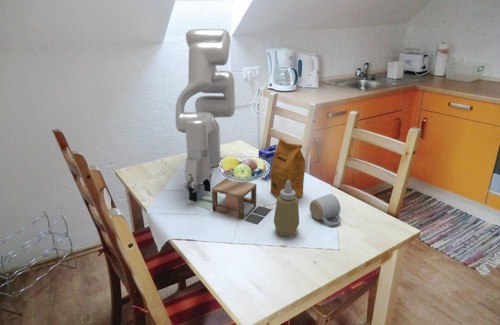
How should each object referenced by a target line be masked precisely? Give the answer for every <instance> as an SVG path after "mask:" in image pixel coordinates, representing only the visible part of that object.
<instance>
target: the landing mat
mask: <svg viewBox="0 0 500 325" xmlns="http://www.w3.org/2000/svg"><path fill="white" fill-rule="evenodd" d="M205 197H208V198H212V193H210V192H205ZM223 198H225V197H224V196H219V195H217V200H219V201H221V200H222V199H223ZM188 203H189V205H192V206H196V207H199V208H202V209H206V210H211V209H213V206H212V202H210V201H207V200H203V199H202V200H198V199H197V201H196V202H194V201H190V202H188Z"/></svg>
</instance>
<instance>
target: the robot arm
mask: <svg viewBox="0 0 500 325" xmlns="http://www.w3.org/2000/svg"><path fill="white" fill-rule="evenodd" d="M185 40H186V44H187V46H188V76H187V77H188V78H187V79H188V81H187V85H186V86H185V88H184V89H183V90H182V91H181V92H180V94H179V96H178V98H177V100H176V104H175V127H176V130H177V131H178V132H179V133H184V134H185V141H186V155H187V157H186V159H185V172H184V173H185V177H184V178H185V182H184V184H183V186H184V188H185V190H187V192H188V198H189V199H188V200H189V201H190V202H192V201H194V202H196V201H197V192H196V187H197V185H198V184H204V191H205V192H206V193H210V192H212V187H211V182H212V177H213V172H214V168H215V167H219V166H218V165H219V163H220V161H221V160H222V159H224V158H223V157H221V140H220V139H221V134H220V133H221V131H220V129H221V128H220V125H219V123H218V121H217V120H216V118H232V117H233V116H234V115H235V111H236V110H235V109H236V98H235V96H236V94H235V93H236V92H235V91H236V90H235V79H234V75H233V73H232V72H231V71H229V70H218V69H217V66H225V65H227V63H228V61H229V56H230V50H231V49H230V48H231V35H230V33H229V31H228V30H227V29H222V28H217V29H216V28H194V29H190V30H187V32H186V33H185ZM198 93H202V94H203V93H204V94H222V95H202V96H199V97H197V98H196V100H195V102H194V108H195V111H192V112H189V111H186V112H185V106H186V104H187V102H188V100H189V99H190V98H191V97H193V96H195V95H197V94H198Z"/></svg>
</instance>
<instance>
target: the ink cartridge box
mask: <svg viewBox="0 0 500 325" xmlns="http://www.w3.org/2000/svg"><path fill="white" fill-rule="evenodd" d="M277 144H278V143H277ZM277 144H272V145H270V146H269V147H268V148H262V149H259V150H258V158H261V159H263V160H266V161H267V162H268V163H269V164H270V166H271V167H270V171H269V173H268V174H267V175H266V176H265V177H263V178H261V179H262V180H264V181H267V180H271V170H272V162H273V158H274V154H275V151H276V148H277Z"/></svg>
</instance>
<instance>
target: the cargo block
mask: <svg viewBox="0 0 500 325" xmlns="http://www.w3.org/2000/svg"><path fill="white" fill-rule="evenodd" d="M225 197H226V206H228V207H232V208H235V209H237V208H239V207H238V198H237V197H234V196H230V195H226V194H225Z"/></svg>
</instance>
